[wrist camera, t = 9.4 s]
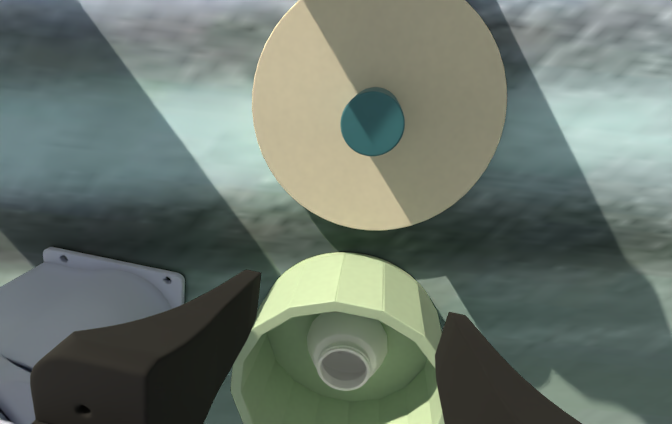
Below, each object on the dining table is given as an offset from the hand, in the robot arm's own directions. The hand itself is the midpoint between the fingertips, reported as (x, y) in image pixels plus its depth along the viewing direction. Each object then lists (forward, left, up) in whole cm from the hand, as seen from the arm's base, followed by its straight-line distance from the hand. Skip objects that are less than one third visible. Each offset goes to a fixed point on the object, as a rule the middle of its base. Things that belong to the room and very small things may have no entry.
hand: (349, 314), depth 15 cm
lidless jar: (0, -7, -8) cm, 11 cm away
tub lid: (-1, +7, -8) cm, 10 cm away
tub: (0, -7, -9) cm, 11 cm away
